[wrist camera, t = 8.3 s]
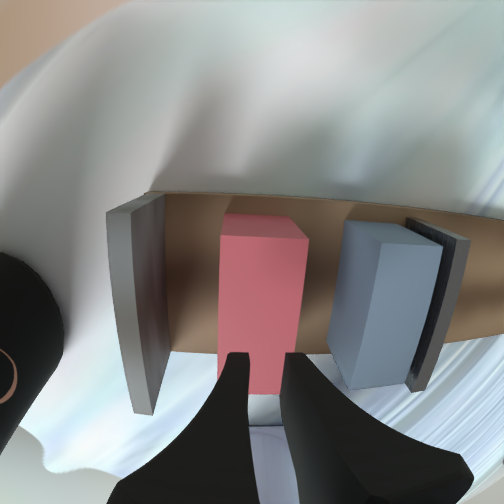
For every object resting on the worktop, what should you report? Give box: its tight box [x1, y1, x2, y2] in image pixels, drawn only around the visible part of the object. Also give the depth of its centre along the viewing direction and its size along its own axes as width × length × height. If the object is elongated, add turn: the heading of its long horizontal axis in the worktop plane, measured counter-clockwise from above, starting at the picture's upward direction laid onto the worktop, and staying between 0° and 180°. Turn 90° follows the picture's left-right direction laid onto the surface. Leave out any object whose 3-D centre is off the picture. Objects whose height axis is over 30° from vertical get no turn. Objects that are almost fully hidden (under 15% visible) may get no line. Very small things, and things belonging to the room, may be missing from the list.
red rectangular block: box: [217, 213, 309, 394], centre depth 16 cm, size 8×4×5 cm, turn 176°
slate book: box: [326, 220, 443, 390], centre depth 17 cm, size 8×4×5 cm, turn 177°
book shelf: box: [106, 191, 504, 416], centre depth 17 cm, size 10×30×7 cm, turn 87°
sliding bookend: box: [405, 217, 471, 393], centre depth 16 cm, size 9×1×5 cm, turn 177°
